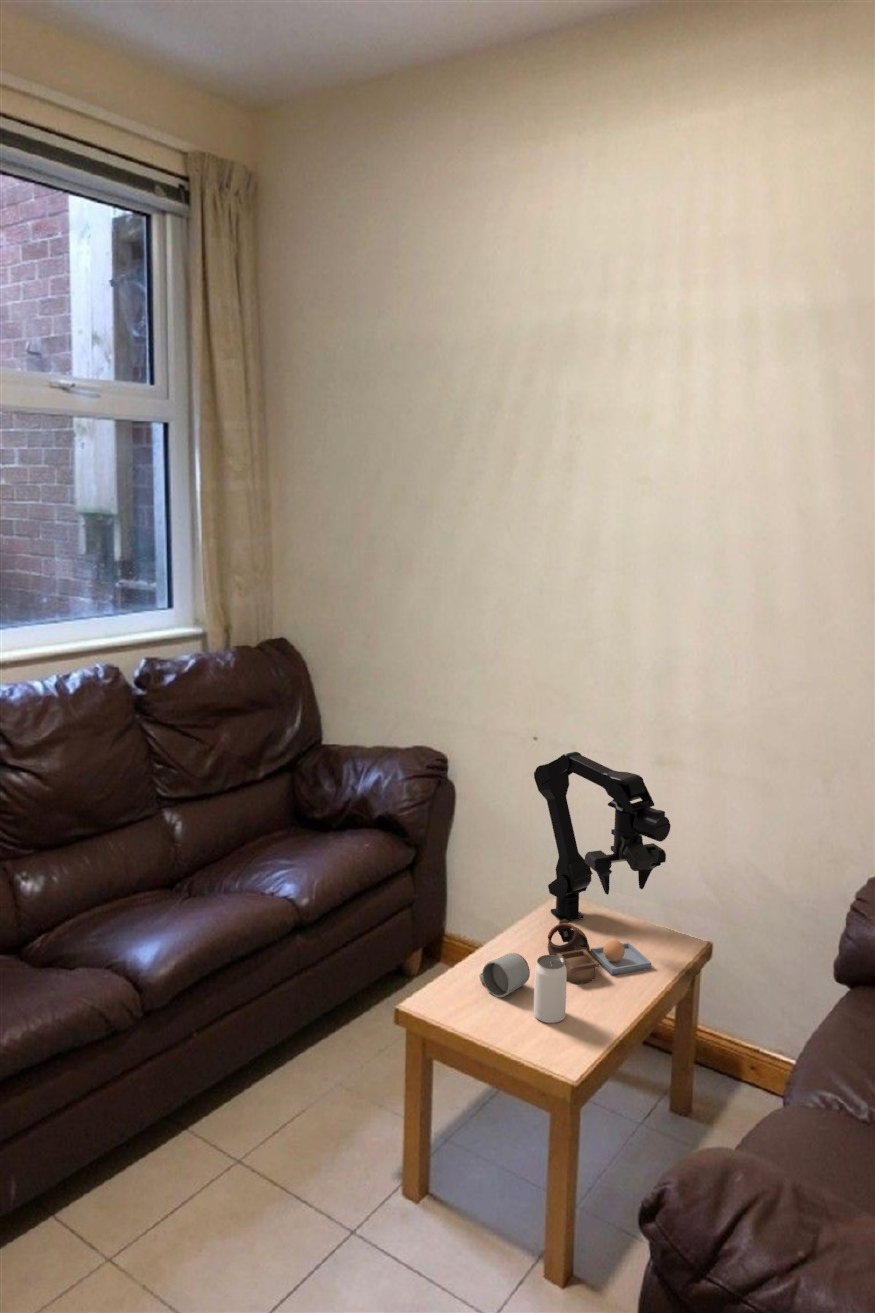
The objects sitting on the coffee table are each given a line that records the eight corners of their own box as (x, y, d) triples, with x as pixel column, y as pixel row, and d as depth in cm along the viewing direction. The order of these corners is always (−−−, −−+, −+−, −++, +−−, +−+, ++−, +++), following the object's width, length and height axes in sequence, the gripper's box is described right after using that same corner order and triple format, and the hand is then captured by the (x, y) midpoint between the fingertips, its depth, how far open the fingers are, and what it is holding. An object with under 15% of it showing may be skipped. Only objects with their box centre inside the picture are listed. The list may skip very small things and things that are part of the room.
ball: (607, 959, 215) (595, 947, 213) (621, 944, 215) (609, 932, 214) (618, 969, 210) (605, 957, 209) (632, 953, 211) (620, 941, 209)
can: (570, 1012, 192) (572, 959, 190) (557, 1028, 187) (559, 972, 185) (541, 1003, 196) (542, 950, 194) (528, 1018, 190) (529, 964, 188)
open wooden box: (552, 968, 210) (553, 953, 209) (584, 963, 213) (585, 947, 212) (569, 986, 203) (569, 970, 202) (601, 980, 205) (602, 964, 204)
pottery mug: (598, 963, 213) (586, 939, 210) (560, 980, 214) (547, 957, 210) (583, 927, 224) (571, 904, 221) (547, 943, 225) (535, 920, 221)
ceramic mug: (532, 988, 202) (532, 955, 200) (508, 1003, 196) (509, 969, 195) (494, 972, 209) (494, 939, 208) (470, 986, 203) (470, 953, 202)
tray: (590, 954, 216) (590, 948, 216) (628, 948, 219) (628, 942, 219) (611, 975, 207) (611, 969, 207) (651, 968, 210) (651, 962, 210)
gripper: (608, 845, 207) (605, 911, 209) (680, 836, 213) (677, 900, 215) (584, 828, 217) (582, 891, 220) (654, 819, 223) (651, 881, 226)
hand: (624, 891), depth 220 cm, fingers open, 9 cm apart
